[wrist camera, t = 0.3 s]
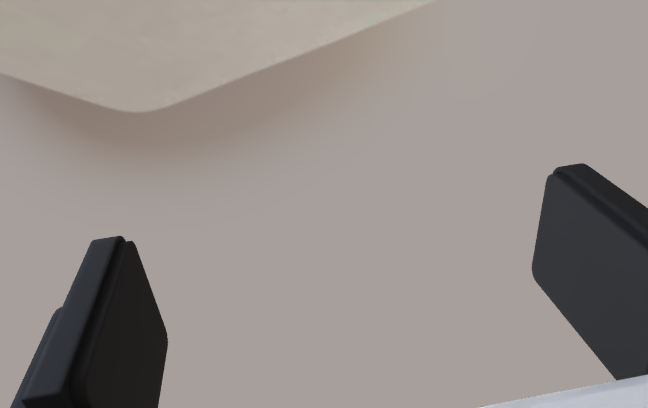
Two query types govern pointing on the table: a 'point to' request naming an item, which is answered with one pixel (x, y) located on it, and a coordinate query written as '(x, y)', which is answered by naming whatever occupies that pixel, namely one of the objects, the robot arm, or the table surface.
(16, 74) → the table surface
